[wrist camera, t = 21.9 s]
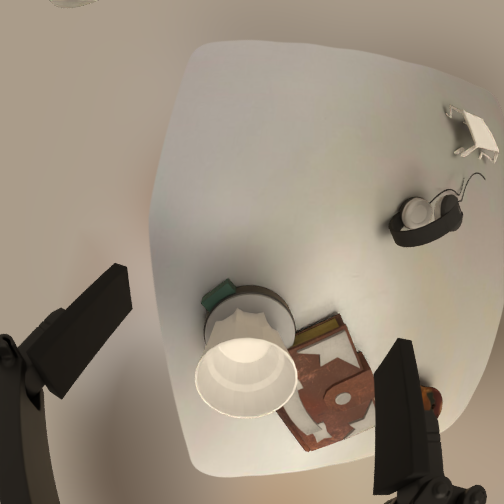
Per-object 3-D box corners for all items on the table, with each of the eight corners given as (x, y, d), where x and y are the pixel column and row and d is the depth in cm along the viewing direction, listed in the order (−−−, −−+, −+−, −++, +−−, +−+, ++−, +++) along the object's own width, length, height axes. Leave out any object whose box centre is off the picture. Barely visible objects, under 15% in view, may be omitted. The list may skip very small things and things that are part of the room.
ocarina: (401, 428, 47) (415, 453, 39) (377, 391, 45) (392, 418, 37) (439, 402, 46) (455, 424, 38) (420, 360, 44) (441, 383, 36)
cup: (274, 374, 38) (283, 421, 28) (201, 363, 37) (191, 410, 27) (291, 308, 36) (308, 345, 26) (211, 295, 35) (201, 329, 25)
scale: (181, 313, 39) (177, 323, 36) (251, 260, 38) (252, 266, 35) (242, 375, 41) (242, 388, 38) (308, 330, 40) (313, 341, 37)
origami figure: (438, 150, 36) (458, 148, 31) (443, 104, 34) (461, 97, 30) (484, 177, 37) (503, 177, 32) (487, 134, 36) (506, 132, 31)
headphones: (455, 187, 40) (383, 251, 37) (446, 164, 39) (371, 223, 36) (500, 184, 30) (434, 259, 28) (491, 157, 29) (422, 225, 27)
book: (245, 351, 41) (243, 371, 36) (344, 307, 39) (354, 324, 34) (302, 437, 46) (305, 456, 41) (380, 405, 44) (388, 423, 39)
